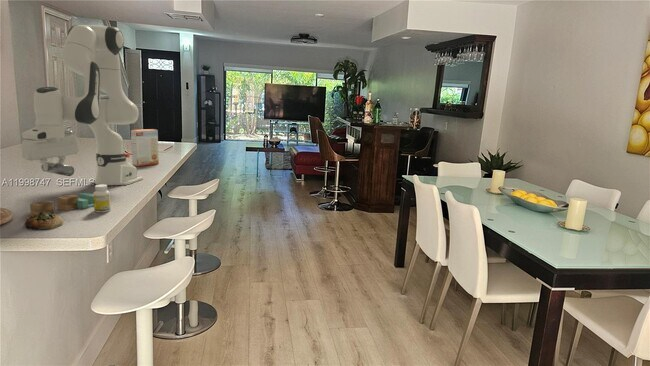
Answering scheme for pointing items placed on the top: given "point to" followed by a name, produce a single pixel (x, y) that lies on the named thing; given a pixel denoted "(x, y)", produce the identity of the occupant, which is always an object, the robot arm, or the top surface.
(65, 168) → the axle
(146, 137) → the cracker box
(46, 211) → the pair of brown blocks
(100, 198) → the supplement bottle
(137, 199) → the top surface
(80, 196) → the cradle
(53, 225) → the bread roll
